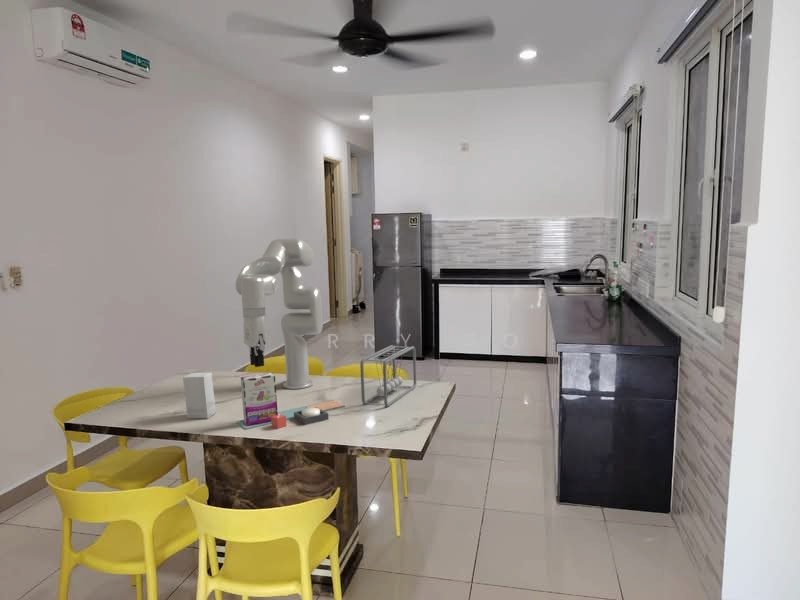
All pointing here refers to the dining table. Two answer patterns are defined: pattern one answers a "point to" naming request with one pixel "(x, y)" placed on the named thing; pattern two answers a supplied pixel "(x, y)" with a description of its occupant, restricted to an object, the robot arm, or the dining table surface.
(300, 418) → the frame
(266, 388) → the candy bar box
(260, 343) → the robot arm
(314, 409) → the popper cap
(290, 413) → the track
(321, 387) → the dining table surface
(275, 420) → the red die
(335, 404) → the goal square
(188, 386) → the skincare box
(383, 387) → the newton's cradle
